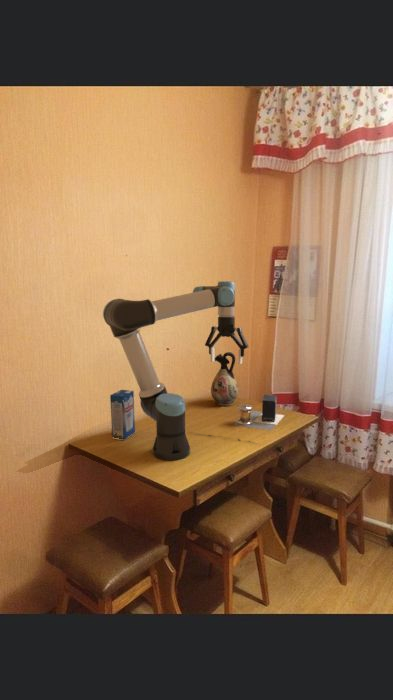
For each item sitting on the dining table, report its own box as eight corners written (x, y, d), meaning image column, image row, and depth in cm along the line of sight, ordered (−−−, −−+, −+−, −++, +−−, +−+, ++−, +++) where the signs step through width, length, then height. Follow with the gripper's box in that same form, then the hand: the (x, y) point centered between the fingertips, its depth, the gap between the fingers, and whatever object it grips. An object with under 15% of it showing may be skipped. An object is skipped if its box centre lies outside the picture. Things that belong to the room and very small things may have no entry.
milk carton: (123, 431, 200) (121, 389, 196) (135, 432, 198) (133, 390, 194) (112, 438, 190) (110, 395, 187) (124, 440, 188) (122, 396, 185)
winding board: (232, 427, 203) (232, 423, 203) (249, 413, 224) (249, 409, 224) (271, 433, 195) (271, 429, 195) (285, 417, 216) (285, 414, 216)
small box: (275, 422, 204) (275, 400, 202) (261, 421, 205) (261, 400, 204) (276, 415, 214) (276, 394, 212) (263, 414, 216) (263, 394, 214)
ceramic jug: (206, 406, 237) (206, 352, 232) (216, 399, 251) (216, 348, 246) (236, 409, 230) (236, 354, 225) (244, 402, 244) (244, 350, 239)
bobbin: (235, 424, 203) (235, 407, 202) (240, 419, 210) (240, 403, 208) (249, 426, 200) (249, 409, 199) (254, 421, 207) (254, 405, 205)
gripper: (255, 316, 190) (255, 363, 194) (204, 314, 201) (204, 359, 205) (250, 317, 184) (249, 366, 187) (197, 316, 195) (198, 361, 198)
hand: (226, 362), depth 196 cm, fingers open, 13 cm apart
